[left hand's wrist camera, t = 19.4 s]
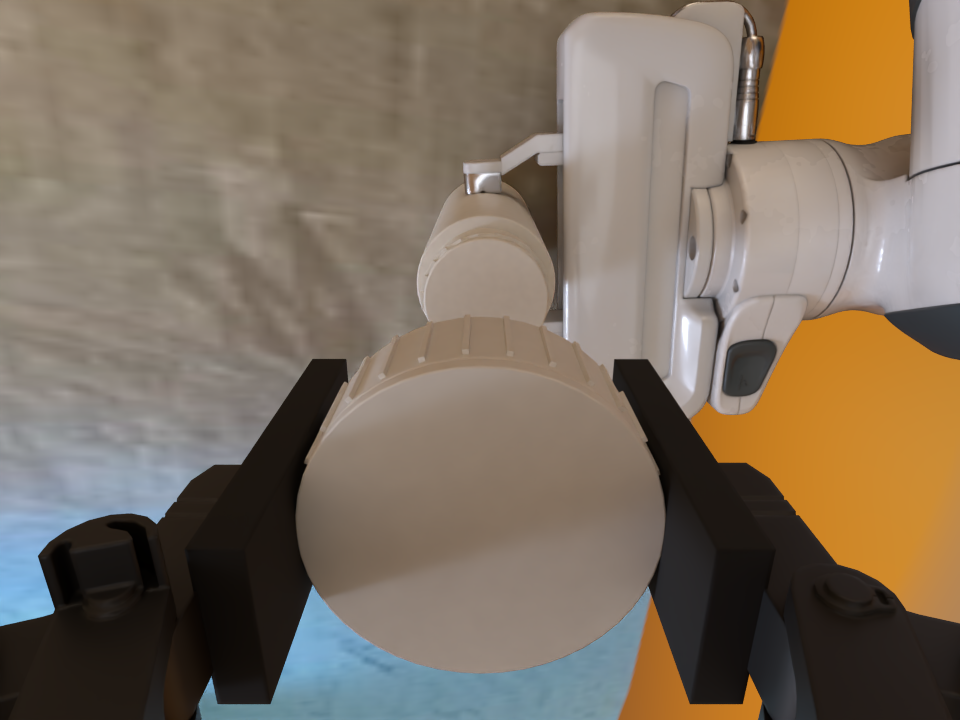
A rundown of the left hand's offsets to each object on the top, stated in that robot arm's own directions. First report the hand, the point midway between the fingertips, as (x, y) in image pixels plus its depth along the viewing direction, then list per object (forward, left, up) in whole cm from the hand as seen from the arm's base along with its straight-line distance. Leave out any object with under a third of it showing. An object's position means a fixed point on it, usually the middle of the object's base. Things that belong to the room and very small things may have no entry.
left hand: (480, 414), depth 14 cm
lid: (0, 0, +4) cm, 4 cm away
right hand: (0, +1, -18) cm, 18 cm away
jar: (0, 0, -25) cm, 25 cm away
